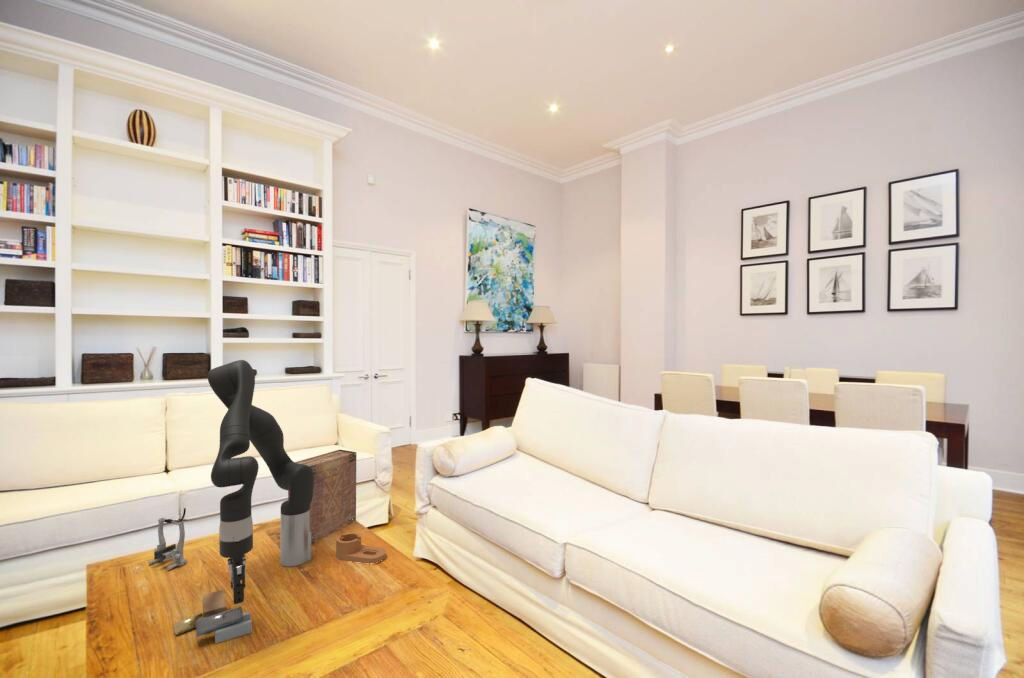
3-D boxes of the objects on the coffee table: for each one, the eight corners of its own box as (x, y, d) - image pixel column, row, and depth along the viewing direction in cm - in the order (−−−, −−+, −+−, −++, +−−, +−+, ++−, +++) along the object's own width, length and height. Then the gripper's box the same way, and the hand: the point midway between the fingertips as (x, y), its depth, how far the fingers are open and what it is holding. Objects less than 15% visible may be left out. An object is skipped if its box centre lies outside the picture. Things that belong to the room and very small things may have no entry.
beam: (224, 607, 132) (224, 589, 132) (225, 626, 123) (225, 606, 123) (202, 613, 129) (203, 594, 129) (203, 632, 121) (203, 612, 121)
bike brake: (192, 564, 156) (192, 506, 156) (171, 574, 149) (171, 513, 149) (165, 557, 161) (165, 500, 160) (143, 566, 154) (143, 507, 154)
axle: (242, 619, 123) (241, 604, 124) (243, 623, 120) (242, 607, 121) (196, 634, 118) (196, 618, 118) (196, 639, 115) (196, 622, 115)
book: (304, 549, 167) (305, 467, 167) (287, 544, 171) (287, 464, 171) (356, 524, 190) (356, 451, 190) (339, 520, 194) (340, 449, 194)
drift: (201, 626, 124) (200, 615, 126) (204, 622, 123) (202, 611, 124) (174, 637, 120) (173, 625, 121) (176, 633, 118) (175, 621, 120)
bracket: (331, 561, 160) (331, 541, 160) (345, 550, 168) (345, 531, 168) (377, 568, 155) (377, 547, 155) (390, 556, 163) (390, 537, 163)
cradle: (249, 621, 125) (249, 611, 125) (251, 632, 121) (251, 621, 121) (214, 632, 121) (214, 621, 121) (215, 643, 116) (215, 632, 116)
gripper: (217, 527, 124) (218, 587, 125) (221, 548, 113) (222, 613, 113) (249, 521, 129) (250, 578, 129) (256, 540, 117) (256, 603, 117)
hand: (237, 594), depth 121 cm, fingers open, 8 cm apart
